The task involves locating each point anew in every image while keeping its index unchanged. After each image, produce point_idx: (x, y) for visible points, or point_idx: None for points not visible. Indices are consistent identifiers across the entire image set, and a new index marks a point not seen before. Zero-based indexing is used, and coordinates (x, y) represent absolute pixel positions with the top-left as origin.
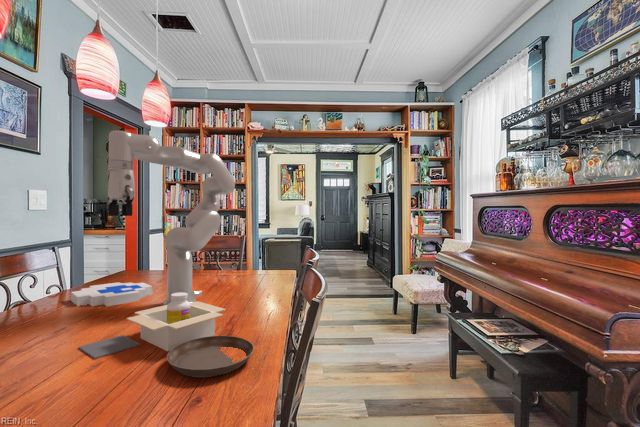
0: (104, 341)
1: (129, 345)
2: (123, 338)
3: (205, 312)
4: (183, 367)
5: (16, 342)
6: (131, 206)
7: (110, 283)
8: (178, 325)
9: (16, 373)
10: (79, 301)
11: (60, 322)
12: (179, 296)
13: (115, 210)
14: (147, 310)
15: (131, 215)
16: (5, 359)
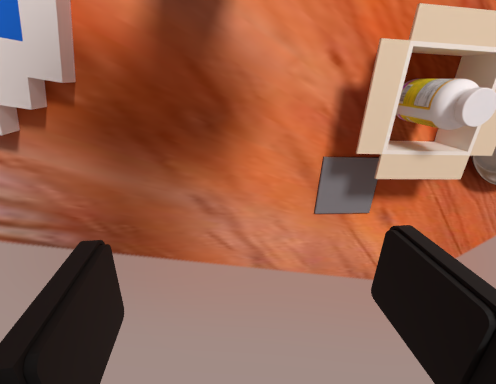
0: (327, 185)
1: (374, 170)
2: (341, 163)
3: (478, 51)
4: (492, 163)
5: (216, 254)
6: (491, 300)
7: None
8: (486, 145)
9: (327, 268)
10: (10, 127)
11: (153, 193)
12: (489, 117)
13: (91, 313)
14: (369, 132)
15: (406, 229)
16: (274, 269)
